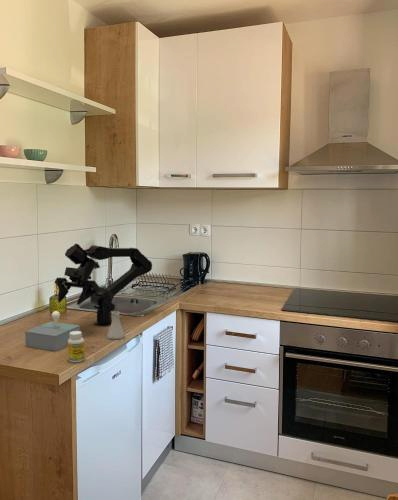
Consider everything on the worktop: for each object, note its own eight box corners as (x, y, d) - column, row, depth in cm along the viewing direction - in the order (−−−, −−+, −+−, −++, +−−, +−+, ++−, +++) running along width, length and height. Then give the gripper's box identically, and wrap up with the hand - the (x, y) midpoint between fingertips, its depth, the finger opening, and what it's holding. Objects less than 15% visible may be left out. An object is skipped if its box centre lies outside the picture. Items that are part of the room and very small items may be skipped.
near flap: (51, 322, 180) (50, 306, 179) (79, 326, 175) (79, 309, 174) (39, 327, 174) (38, 310, 173) (68, 331, 169) (68, 314, 168)
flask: (126, 334, 182) (126, 310, 181) (124, 340, 175) (123, 315, 174) (108, 334, 182) (107, 310, 181) (105, 340, 175) (104, 315, 174)
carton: (51, 335, 181) (51, 321, 180) (80, 339, 176) (80, 325, 175) (25, 346, 168) (25, 331, 167) (56, 351, 163) (55, 336, 162)
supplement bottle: (81, 356, 158) (80, 329, 157) (87, 360, 154) (86, 333, 153) (66, 359, 155) (65, 332, 154) (71, 364, 151) (70, 336, 150)
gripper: (56, 257, 185) (38, 289, 176) (94, 260, 178) (77, 294, 169) (69, 273, 193) (53, 305, 184) (106, 277, 186) (91, 309, 177)
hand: (68, 303), depth 179 cm, fingers open, 9 cm apart
